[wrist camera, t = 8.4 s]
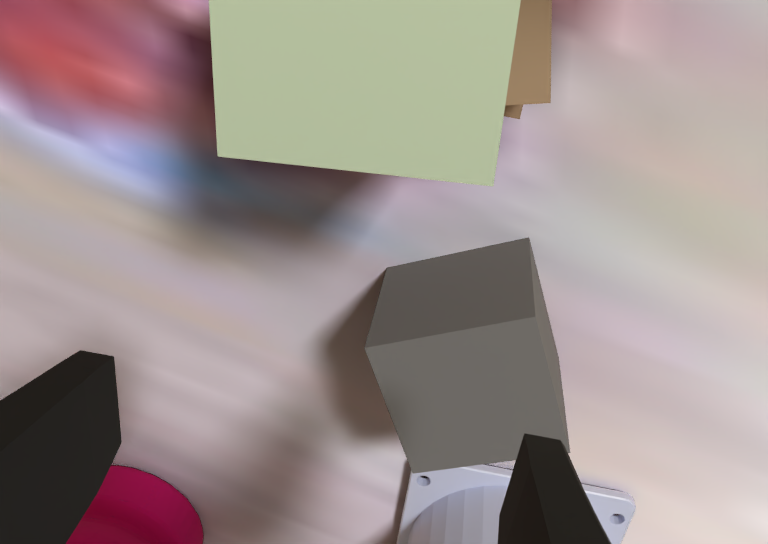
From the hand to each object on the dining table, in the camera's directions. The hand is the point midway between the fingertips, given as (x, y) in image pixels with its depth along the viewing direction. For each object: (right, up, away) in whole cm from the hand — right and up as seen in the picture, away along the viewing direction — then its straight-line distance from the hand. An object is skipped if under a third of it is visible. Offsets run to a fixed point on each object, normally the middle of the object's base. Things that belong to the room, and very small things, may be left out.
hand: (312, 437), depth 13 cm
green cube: (+1, +9, +2) cm, 9 cm away
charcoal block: (+4, +2, +11) cm, 11 cm away
